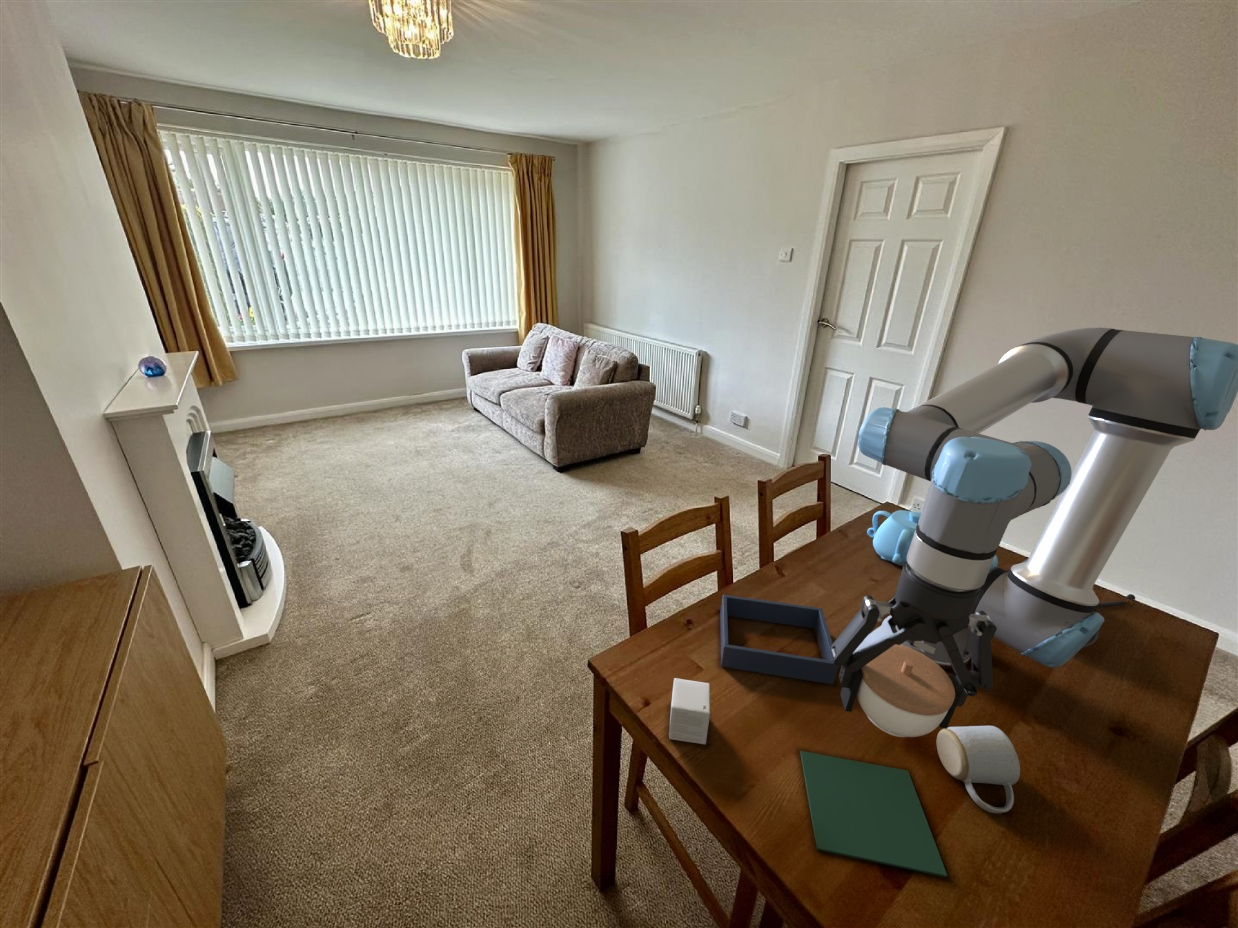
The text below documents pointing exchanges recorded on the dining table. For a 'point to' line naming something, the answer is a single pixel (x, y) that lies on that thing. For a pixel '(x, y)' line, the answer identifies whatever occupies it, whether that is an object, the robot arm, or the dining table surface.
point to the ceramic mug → (980, 760)
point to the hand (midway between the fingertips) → (891, 710)
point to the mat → (869, 813)
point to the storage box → (777, 661)
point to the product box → (690, 711)
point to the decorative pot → (894, 534)
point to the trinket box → (905, 692)
